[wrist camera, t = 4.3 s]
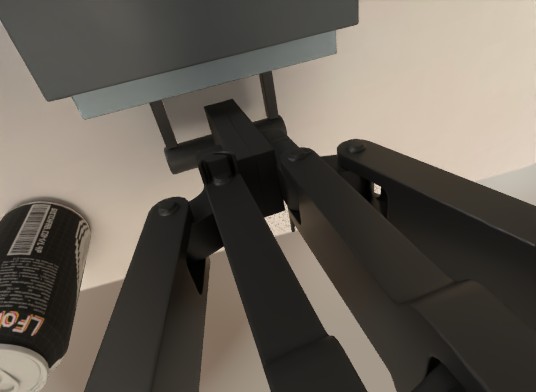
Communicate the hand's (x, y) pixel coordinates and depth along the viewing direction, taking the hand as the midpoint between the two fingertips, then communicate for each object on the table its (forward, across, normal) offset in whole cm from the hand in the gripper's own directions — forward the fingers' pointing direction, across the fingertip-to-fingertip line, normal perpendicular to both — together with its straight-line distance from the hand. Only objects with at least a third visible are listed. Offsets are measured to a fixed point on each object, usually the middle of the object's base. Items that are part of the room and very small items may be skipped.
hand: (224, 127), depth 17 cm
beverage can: (+8, -14, -7) cm, 17 cm away
